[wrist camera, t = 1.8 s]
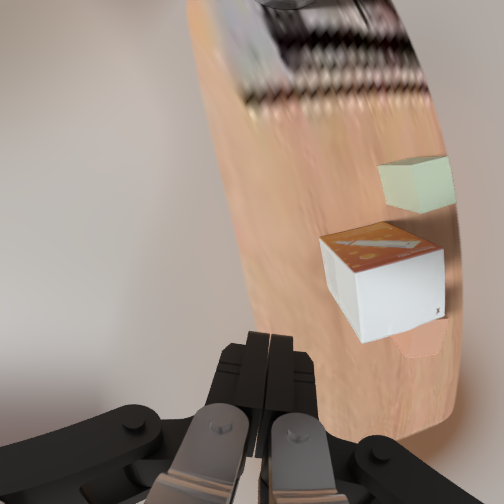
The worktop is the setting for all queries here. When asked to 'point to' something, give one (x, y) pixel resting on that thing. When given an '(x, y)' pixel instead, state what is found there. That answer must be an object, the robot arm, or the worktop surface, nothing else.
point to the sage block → (418, 183)
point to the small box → (384, 279)
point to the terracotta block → (422, 339)
